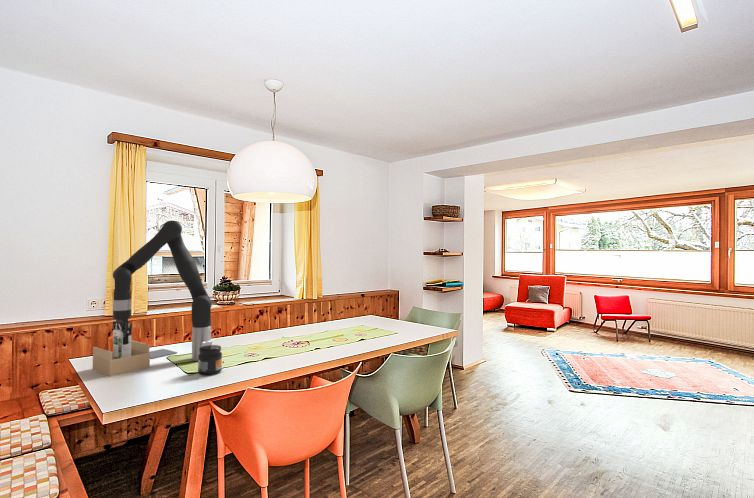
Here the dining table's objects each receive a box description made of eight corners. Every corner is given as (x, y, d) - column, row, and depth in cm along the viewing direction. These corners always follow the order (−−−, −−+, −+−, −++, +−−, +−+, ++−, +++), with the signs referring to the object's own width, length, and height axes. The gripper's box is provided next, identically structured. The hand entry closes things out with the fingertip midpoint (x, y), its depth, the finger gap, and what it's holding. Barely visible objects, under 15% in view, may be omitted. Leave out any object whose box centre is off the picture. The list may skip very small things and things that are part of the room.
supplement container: (226, 370, 192) (226, 345, 192) (213, 376, 182) (213, 350, 182) (206, 368, 194) (207, 344, 194) (192, 375, 184) (193, 349, 184)
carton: (149, 367, 196) (149, 344, 196) (110, 376, 181) (110, 352, 181) (131, 361, 206) (131, 340, 206) (92, 369, 191) (92, 346, 191)
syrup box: (112, 359, 192) (112, 329, 192) (125, 356, 198) (124, 327, 198) (119, 361, 190) (119, 330, 190) (131, 358, 195) (131, 328, 195)
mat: (177, 353, 222) (177, 352, 222) (151, 358, 211) (151, 357, 211) (163, 349, 230) (163, 348, 230) (138, 355, 218) (138, 353, 218)
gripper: (137, 309, 193) (137, 343, 193) (123, 306, 201) (123, 340, 201) (121, 311, 187) (121, 347, 187) (106, 308, 194) (106, 343, 194)
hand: (122, 343), depth 194 cm, fingers closed on syrup box, 6 cm apart
